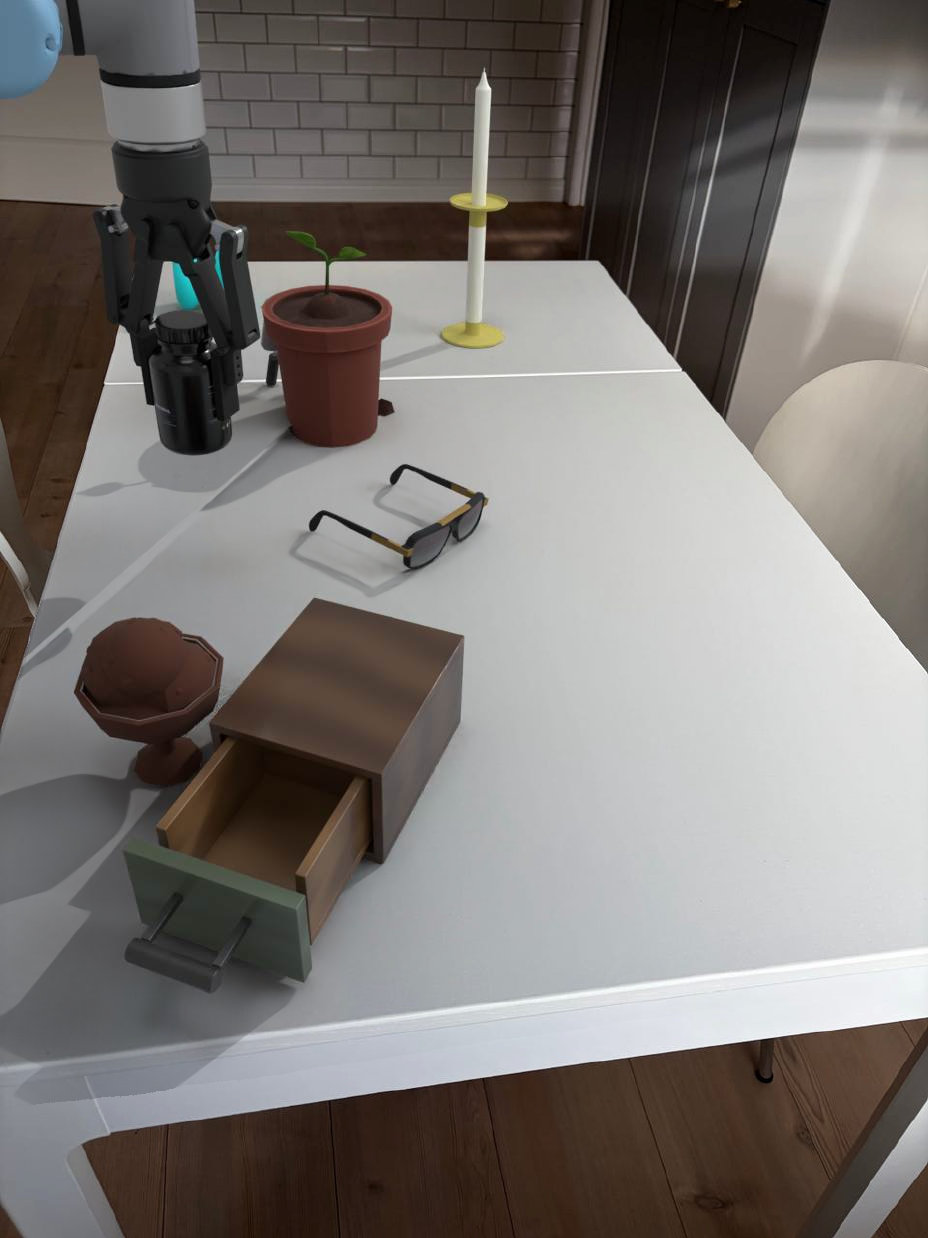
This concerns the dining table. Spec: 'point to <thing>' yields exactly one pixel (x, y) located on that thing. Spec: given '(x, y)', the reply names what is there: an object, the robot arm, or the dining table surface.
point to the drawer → (248, 863)
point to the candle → (477, 233)
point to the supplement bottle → (186, 385)
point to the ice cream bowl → (151, 693)
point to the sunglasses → (432, 538)
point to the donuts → (188, 286)
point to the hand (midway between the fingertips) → (193, 406)
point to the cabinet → (355, 704)
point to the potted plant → (328, 356)
